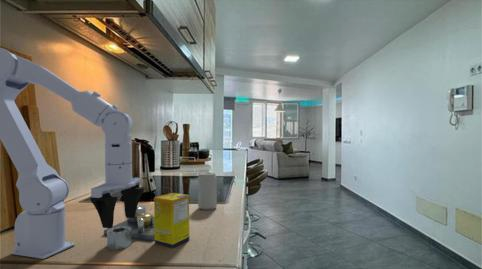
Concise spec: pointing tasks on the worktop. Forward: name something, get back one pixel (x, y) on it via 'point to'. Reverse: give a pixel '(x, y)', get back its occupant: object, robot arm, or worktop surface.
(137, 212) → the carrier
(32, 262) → the worktop surface
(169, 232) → the supplement box
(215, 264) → the worktop surface
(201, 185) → the beverage can
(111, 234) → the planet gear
